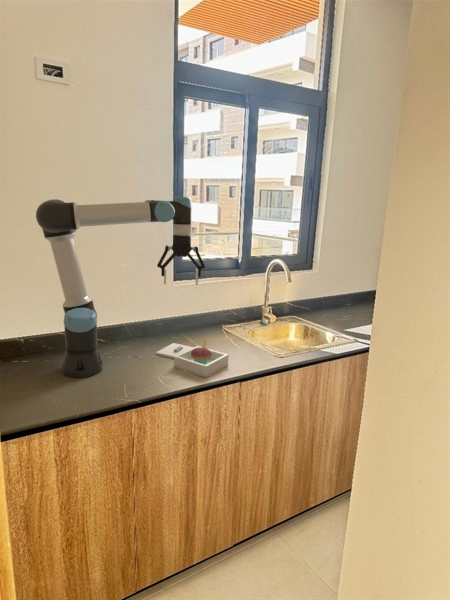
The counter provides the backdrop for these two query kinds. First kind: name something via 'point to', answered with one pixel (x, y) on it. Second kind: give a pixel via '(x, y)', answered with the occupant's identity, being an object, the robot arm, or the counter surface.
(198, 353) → the cupcake
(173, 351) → the bin lid
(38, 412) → the counter surface
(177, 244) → the robot arm
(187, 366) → the bin
